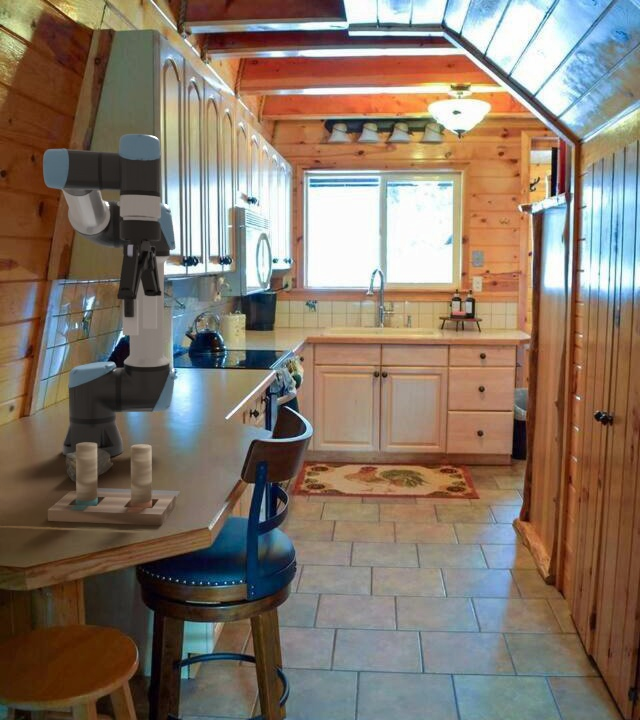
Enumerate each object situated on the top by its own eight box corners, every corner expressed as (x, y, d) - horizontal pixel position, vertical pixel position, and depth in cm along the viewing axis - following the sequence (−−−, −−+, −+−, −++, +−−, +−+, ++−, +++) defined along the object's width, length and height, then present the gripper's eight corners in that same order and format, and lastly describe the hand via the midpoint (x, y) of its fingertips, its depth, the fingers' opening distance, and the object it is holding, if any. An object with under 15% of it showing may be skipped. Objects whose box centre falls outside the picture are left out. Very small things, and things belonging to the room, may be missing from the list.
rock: (109, 467, 165) (63, 456, 163) (101, 495, 166) (56, 485, 164) (118, 445, 182) (77, 435, 180) (111, 471, 183) (70, 461, 181)
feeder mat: (90, 489, 163) (90, 487, 163) (180, 492, 163) (180, 491, 163) (77, 501, 155) (77, 499, 155) (172, 504, 155) (172, 502, 155)
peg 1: (100, 509, 150) (100, 442, 148) (94, 516, 146) (93, 447, 144) (79, 509, 150) (79, 441, 148) (73, 516, 146) (72, 446, 144)
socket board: (70, 502, 154) (70, 489, 154) (175, 506, 154) (175, 493, 153) (47, 522, 143) (47, 508, 142) (161, 526, 142) (161, 513, 142)
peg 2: (154, 512, 150) (154, 444, 148) (148, 519, 146) (148, 449, 144) (134, 511, 150) (133, 443, 148) (128, 518, 146) (127, 449, 144)
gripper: (138, 222, 153) (139, 325, 156) (98, 215, 128) (100, 337, 131) (175, 223, 153) (174, 326, 155) (141, 216, 128) (142, 338, 131)
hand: (140, 331), depth 143 cm, fingers open, 13 cm apart
